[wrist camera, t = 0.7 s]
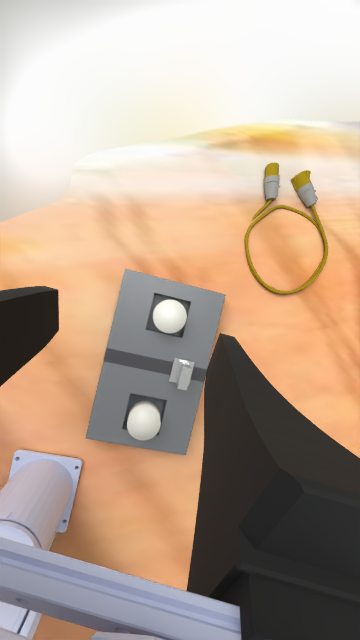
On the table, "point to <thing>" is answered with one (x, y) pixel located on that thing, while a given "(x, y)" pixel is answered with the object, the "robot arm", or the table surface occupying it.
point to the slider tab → (181, 373)
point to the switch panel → (159, 346)
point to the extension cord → (309, 199)
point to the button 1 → (144, 420)
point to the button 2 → (169, 316)
